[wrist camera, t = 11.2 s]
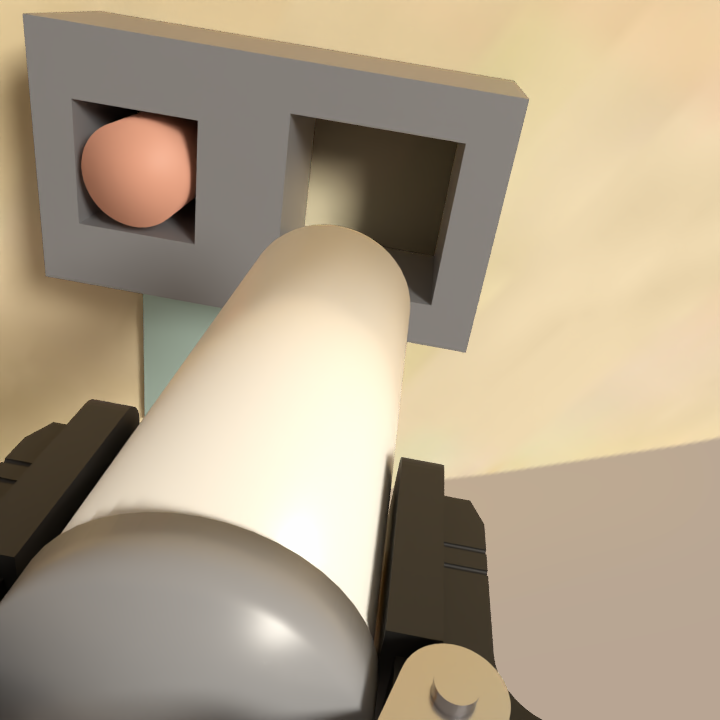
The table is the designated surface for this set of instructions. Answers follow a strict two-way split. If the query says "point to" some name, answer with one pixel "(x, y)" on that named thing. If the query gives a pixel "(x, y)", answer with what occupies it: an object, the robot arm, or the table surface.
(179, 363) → the mat
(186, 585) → the cartridge
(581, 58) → the table surface
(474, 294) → the housing
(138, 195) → the orange egg
